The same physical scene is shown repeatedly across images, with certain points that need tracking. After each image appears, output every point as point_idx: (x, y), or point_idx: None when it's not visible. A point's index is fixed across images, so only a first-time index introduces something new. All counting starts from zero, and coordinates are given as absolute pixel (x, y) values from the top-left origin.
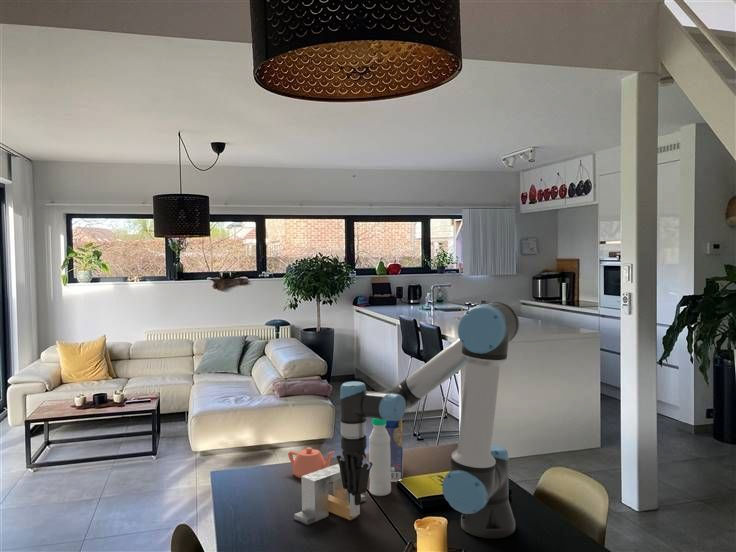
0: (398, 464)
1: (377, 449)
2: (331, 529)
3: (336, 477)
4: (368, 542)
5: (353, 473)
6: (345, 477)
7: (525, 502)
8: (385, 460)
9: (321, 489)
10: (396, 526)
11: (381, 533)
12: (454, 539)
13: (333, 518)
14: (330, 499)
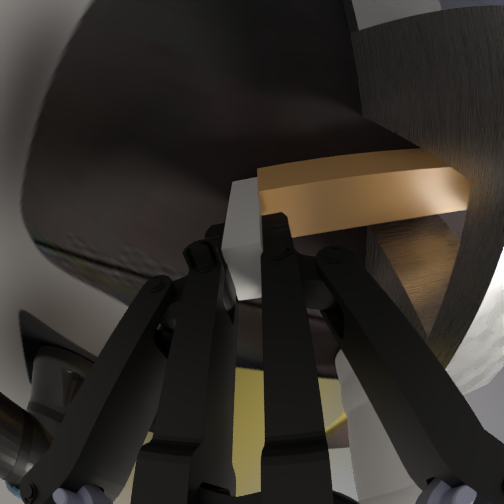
0: None
1: (381, 482)
2: (221, 46)
3: (461, 284)
4: (48, 141)
5: (193, 423)
6: (355, 334)
7: (150, 428)
8: (353, 453)
9: (450, 88)
10: (120, 275)
11: (88, 211)
12: (37, 319)
13: (327, 119)
14: (425, 180)
